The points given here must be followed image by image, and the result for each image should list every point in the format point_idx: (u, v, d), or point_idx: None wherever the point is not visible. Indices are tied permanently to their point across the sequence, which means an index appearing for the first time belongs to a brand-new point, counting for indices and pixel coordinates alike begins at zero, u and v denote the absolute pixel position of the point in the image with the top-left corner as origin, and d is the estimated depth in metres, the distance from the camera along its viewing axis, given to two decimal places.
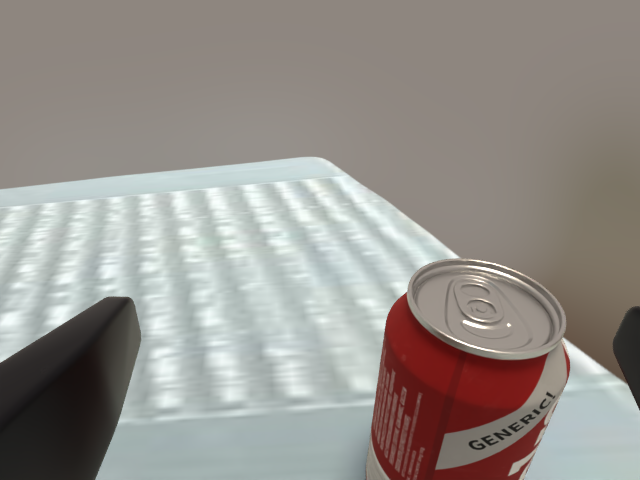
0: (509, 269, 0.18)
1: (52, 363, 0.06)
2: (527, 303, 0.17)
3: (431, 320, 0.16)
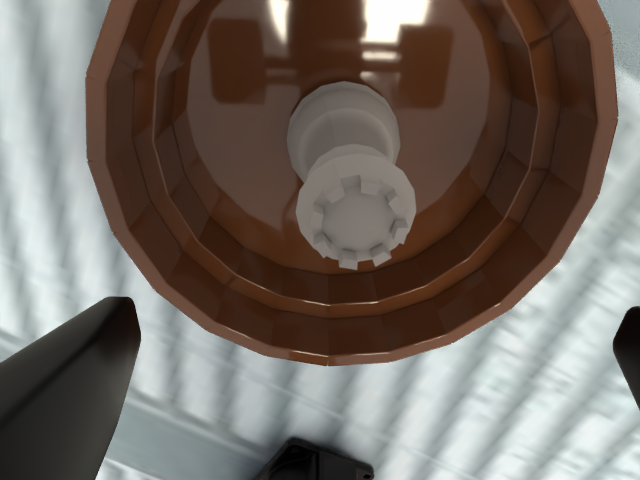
0: None
1: (52, 363, 0.06)
2: None
3: None
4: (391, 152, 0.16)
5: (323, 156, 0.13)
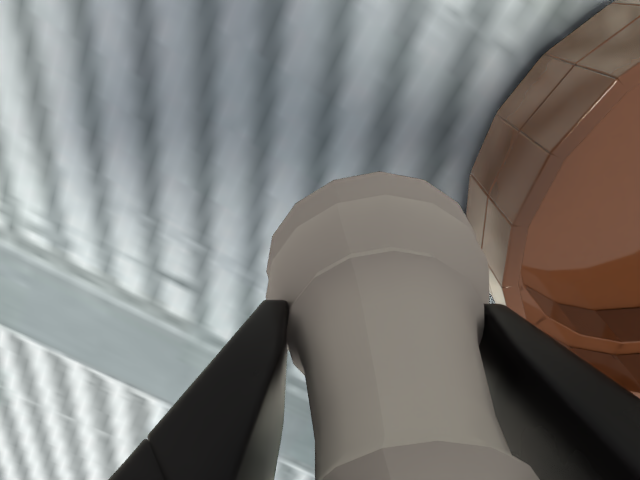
0: None
1: (259, 366, 0.06)
2: None
3: None
4: (481, 331, 0.08)
5: (349, 467, 0.05)
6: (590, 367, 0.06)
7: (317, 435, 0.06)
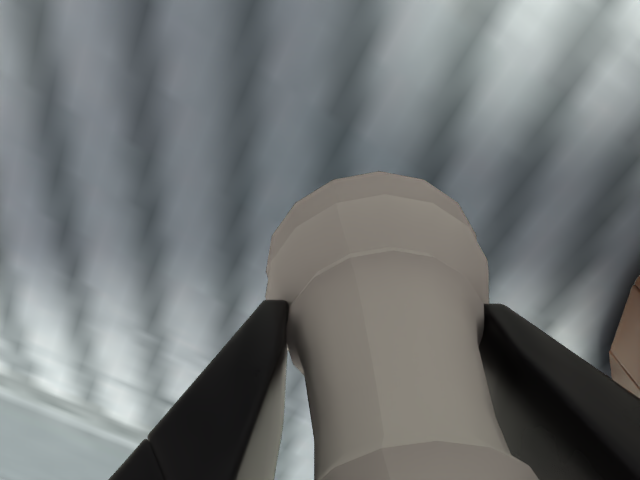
0: None
1: (259, 366, 0.06)
2: None
3: None
4: (480, 330, 0.08)
5: (348, 467, 0.05)
6: (590, 367, 0.06)
7: (316, 435, 0.06)
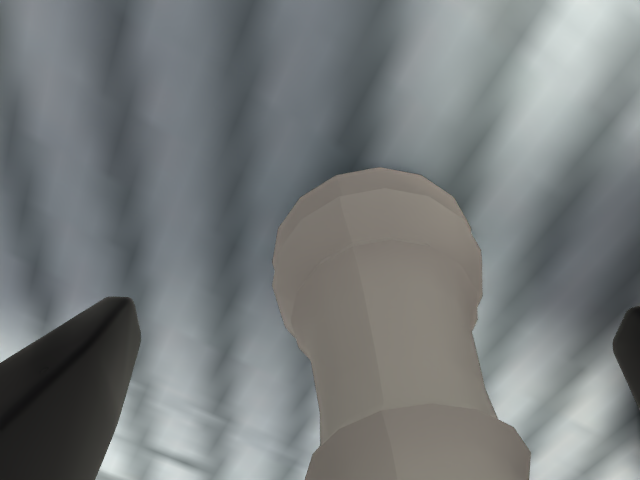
0: None
1: (52, 363, 0.06)
2: None
3: None
4: (474, 315, 0.08)
5: (351, 428, 0.05)
6: None
7: (322, 407, 0.06)
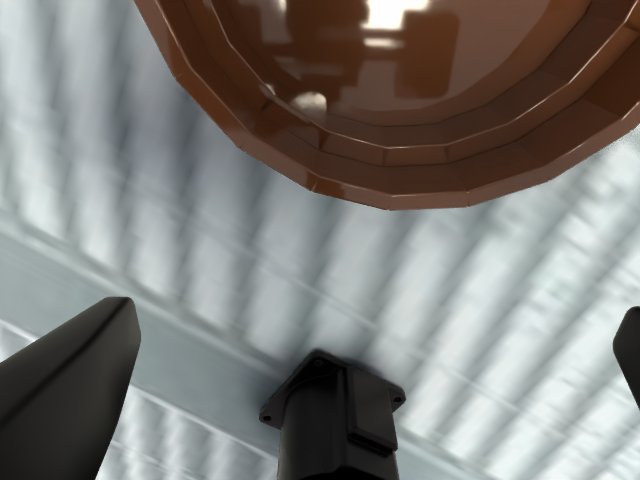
0: None
1: (52, 363, 0.06)
2: None
3: None
4: None
5: None
6: None
7: None
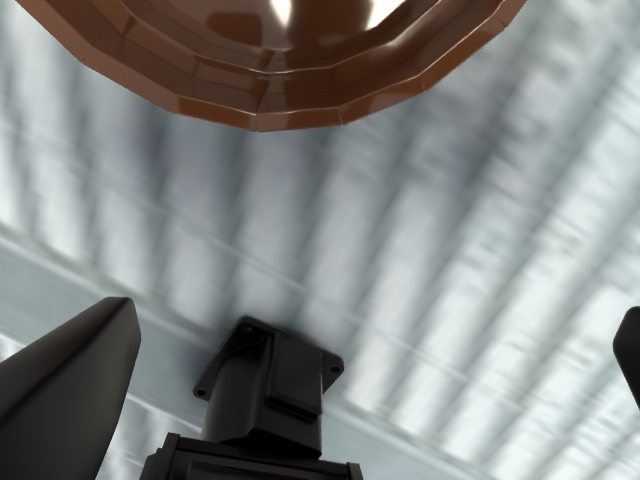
0: None
1: (52, 363, 0.06)
2: None
3: None
4: None
5: None
6: None
7: None
